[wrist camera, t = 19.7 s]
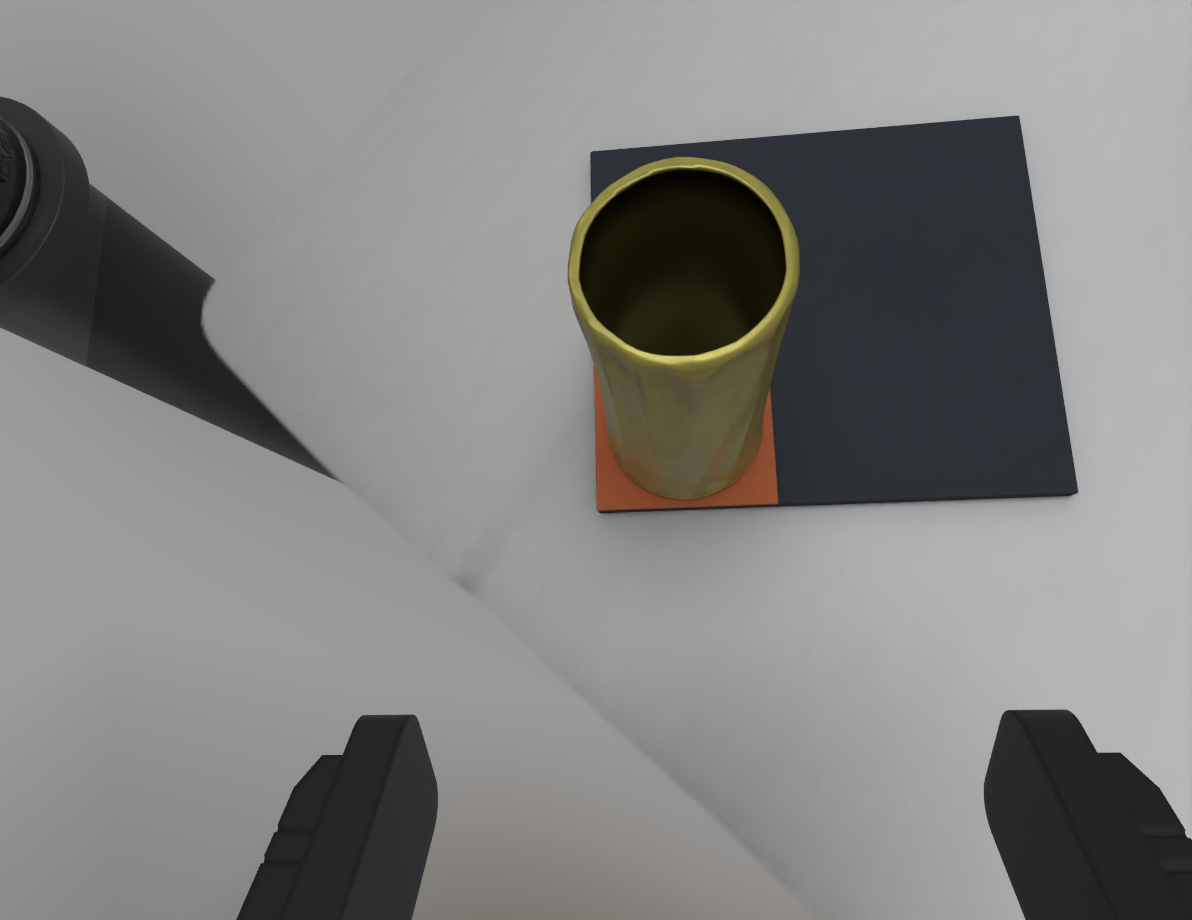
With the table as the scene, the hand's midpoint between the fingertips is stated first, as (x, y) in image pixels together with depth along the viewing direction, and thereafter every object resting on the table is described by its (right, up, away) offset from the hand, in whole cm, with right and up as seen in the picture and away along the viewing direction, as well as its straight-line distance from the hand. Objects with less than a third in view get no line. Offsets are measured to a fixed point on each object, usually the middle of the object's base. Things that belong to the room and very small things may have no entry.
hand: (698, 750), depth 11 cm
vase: (+2, +5, +21) cm, 21 cm away
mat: (+7, +10, +22) cm, 25 cm away
